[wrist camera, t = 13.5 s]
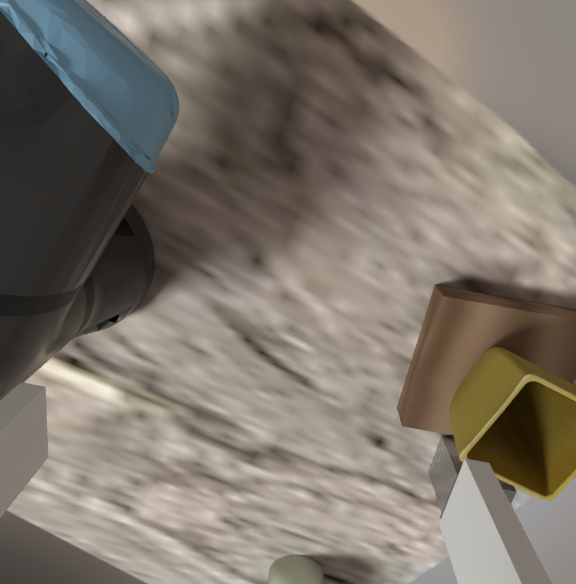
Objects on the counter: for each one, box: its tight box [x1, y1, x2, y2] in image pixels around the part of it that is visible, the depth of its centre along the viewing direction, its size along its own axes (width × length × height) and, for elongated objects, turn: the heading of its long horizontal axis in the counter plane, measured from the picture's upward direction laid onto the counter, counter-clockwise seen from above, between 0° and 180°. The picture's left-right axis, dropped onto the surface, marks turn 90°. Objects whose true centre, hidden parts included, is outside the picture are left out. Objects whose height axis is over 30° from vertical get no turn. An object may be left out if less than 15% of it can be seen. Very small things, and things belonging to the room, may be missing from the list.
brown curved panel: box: [397, 285, 576, 435], centre depth 43 cm, size 14×14×3 cm
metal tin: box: [428, 436, 516, 518], centre depth 45 cm, size 5×5×7 cm
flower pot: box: [450, 347, 576, 501], centre depth 37 cm, size 9×9×9 cm
